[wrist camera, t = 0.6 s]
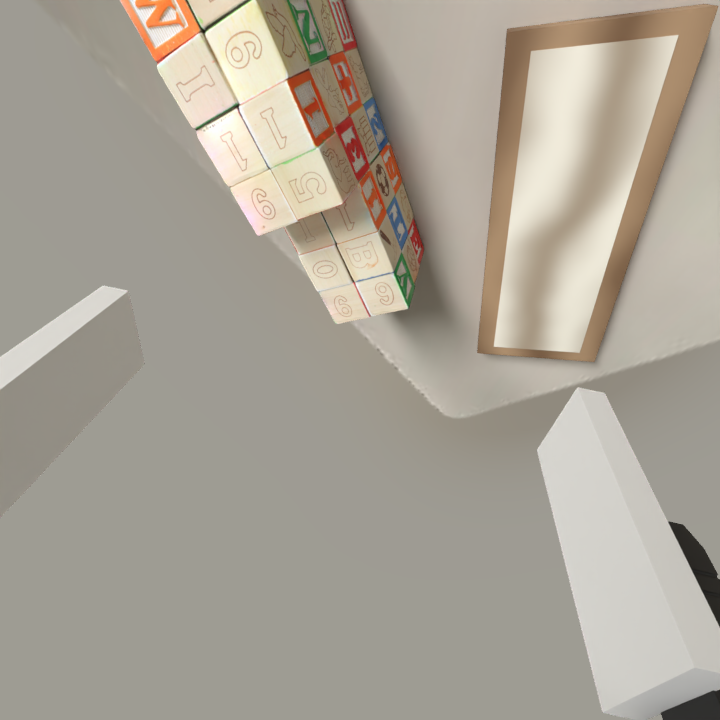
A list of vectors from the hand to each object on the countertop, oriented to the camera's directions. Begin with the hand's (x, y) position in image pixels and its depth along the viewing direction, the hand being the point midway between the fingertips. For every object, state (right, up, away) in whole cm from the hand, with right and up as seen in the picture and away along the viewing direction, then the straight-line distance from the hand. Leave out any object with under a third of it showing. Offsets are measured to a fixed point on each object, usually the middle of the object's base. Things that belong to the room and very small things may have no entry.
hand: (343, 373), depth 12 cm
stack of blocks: (0, +18, +19) cm, 26 cm away
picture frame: (+16, +11, +19) cm, 27 cm away
